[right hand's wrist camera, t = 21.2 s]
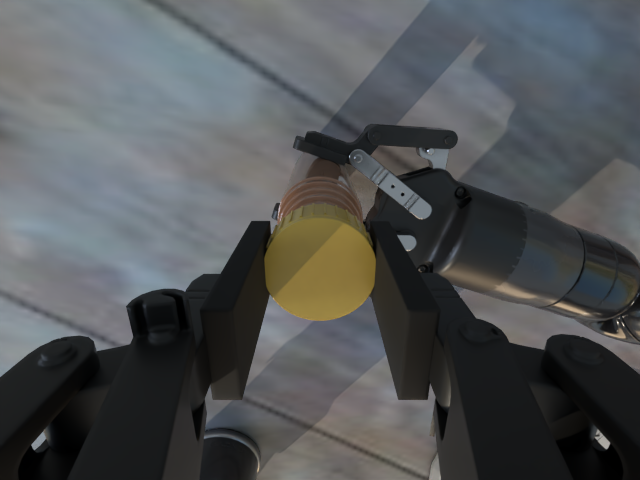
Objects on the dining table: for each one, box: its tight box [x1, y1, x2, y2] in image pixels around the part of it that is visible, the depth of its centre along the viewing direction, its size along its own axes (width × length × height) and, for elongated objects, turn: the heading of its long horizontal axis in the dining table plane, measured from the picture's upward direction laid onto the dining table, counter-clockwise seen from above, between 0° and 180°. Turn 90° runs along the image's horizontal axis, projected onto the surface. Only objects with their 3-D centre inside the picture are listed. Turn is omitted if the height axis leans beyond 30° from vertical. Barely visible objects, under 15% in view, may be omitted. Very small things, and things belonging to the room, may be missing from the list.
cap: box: [264, 203, 376, 321], centre depth 14 cm, size 4×4×2 cm
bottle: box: [277, 152, 363, 225], centre depth 22 cm, size 5×5×20 cm
